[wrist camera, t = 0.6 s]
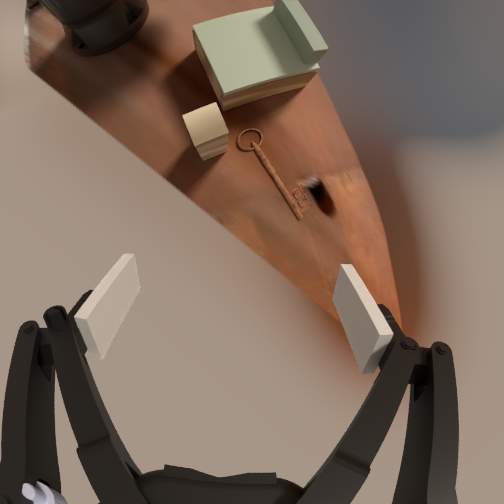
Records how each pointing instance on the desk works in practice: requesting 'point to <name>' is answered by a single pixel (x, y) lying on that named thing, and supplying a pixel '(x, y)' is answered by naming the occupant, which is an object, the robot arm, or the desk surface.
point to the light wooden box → (252, 92)
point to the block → (207, 130)
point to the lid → (261, 45)
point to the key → (277, 180)
